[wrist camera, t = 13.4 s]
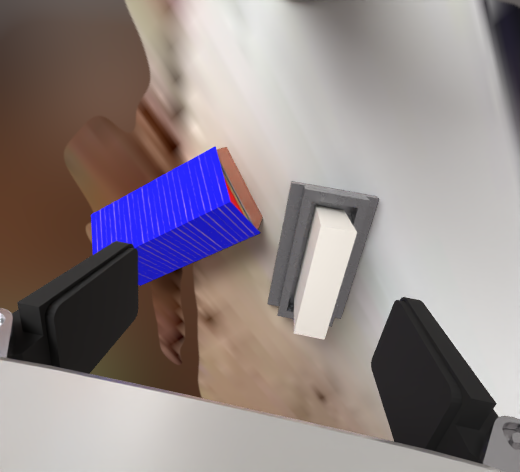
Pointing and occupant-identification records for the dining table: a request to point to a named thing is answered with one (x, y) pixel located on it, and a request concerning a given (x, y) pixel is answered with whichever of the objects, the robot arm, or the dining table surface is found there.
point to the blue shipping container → (181, 215)
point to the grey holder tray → (296, 237)
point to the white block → (322, 270)
